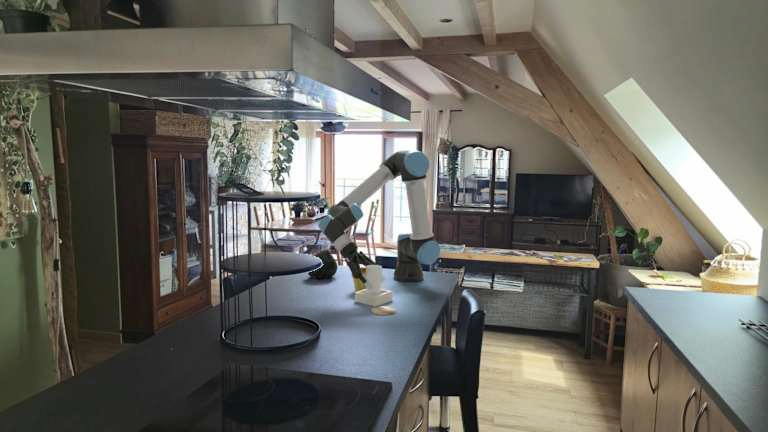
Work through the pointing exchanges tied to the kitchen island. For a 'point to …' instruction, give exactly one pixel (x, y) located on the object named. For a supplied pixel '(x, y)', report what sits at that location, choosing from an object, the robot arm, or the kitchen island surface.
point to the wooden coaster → (383, 310)
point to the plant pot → (359, 281)
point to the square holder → (373, 297)
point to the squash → (325, 266)
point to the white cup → (374, 278)
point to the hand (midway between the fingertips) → (377, 284)
